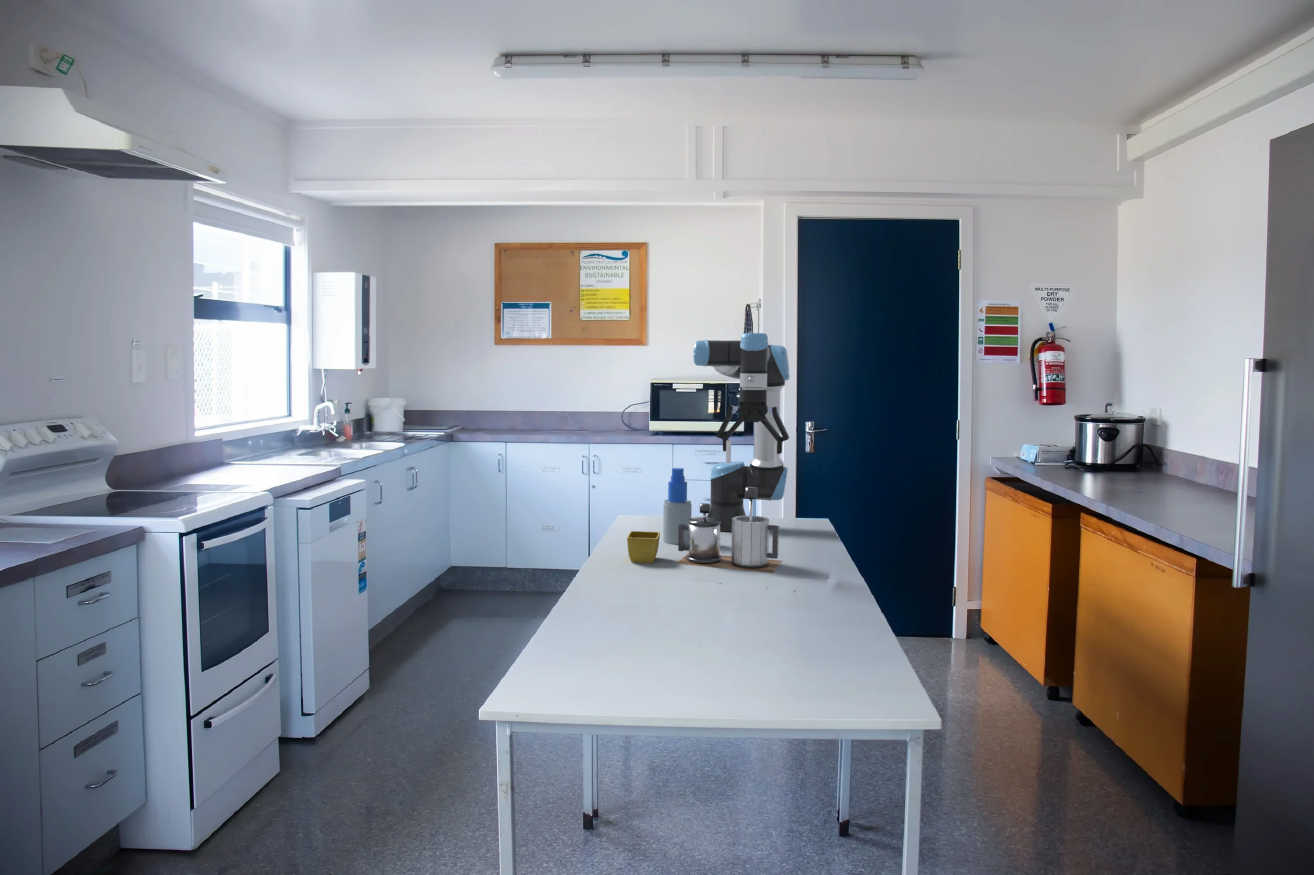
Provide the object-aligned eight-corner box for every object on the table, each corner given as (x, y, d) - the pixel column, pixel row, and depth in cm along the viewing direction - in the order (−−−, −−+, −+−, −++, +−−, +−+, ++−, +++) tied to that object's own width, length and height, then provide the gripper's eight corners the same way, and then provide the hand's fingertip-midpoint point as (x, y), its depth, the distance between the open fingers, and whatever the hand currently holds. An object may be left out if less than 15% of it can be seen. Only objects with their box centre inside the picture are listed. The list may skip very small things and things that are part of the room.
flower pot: (660, 561, 238) (660, 531, 237) (657, 569, 229) (657, 538, 228) (630, 560, 239) (630, 530, 238) (626, 568, 230) (626, 537, 229)
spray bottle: (690, 542, 262) (691, 466, 260) (691, 549, 253) (692, 470, 251) (663, 542, 262) (663, 466, 260) (662, 549, 254) (663, 470, 251)
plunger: (741, 549, 234) (742, 485, 232) (764, 551, 232) (765, 486, 230) (735, 554, 227) (736, 488, 226) (759, 557, 225) (760, 490, 223)
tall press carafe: (736, 558, 236) (736, 514, 235) (780, 562, 232) (781, 517, 231) (727, 566, 227) (728, 521, 225) (773, 571, 222) (774, 524, 221)
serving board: (689, 557, 243) (689, 552, 243) (782, 565, 234) (782, 560, 234) (675, 568, 230) (675, 563, 230) (772, 578, 221) (773, 572, 221)
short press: (684, 553, 241) (684, 499, 240) (725, 557, 237) (725, 502, 236) (673, 561, 232) (674, 505, 230) (716, 565, 228) (717, 508, 226)
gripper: (706, 388, 226) (705, 463, 228) (795, 390, 218) (794, 468, 220) (713, 387, 233) (712, 460, 235) (800, 389, 225) (798, 464, 227)
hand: (751, 464), depth 227 cm, fingers open, 13 cm apart
